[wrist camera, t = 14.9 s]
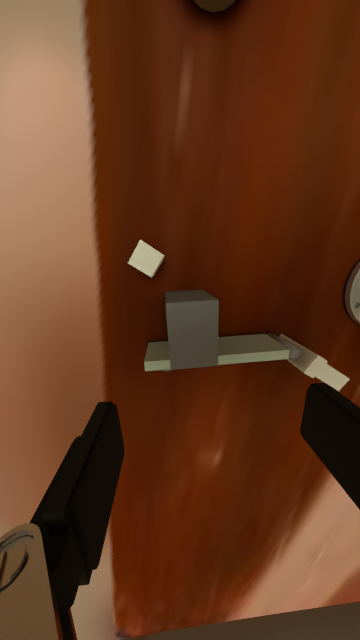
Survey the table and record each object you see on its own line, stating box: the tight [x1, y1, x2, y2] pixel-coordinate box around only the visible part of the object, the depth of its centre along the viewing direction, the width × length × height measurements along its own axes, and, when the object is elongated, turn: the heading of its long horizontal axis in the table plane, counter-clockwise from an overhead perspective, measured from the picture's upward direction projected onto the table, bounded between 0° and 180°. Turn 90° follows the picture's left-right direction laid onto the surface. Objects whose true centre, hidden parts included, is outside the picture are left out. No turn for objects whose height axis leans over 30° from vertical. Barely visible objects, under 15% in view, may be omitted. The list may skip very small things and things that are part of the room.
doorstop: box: [165, 290, 219, 370], centre depth 22 cm, size 5×7×8 cm
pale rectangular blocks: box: [128, 240, 349, 391], centre depth 23 cm, size 30×3×7 cm, turn 58°
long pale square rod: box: [144, 333, 301, 371], centre depth 24 cm, size 19×2×6 cm, turn 93°
